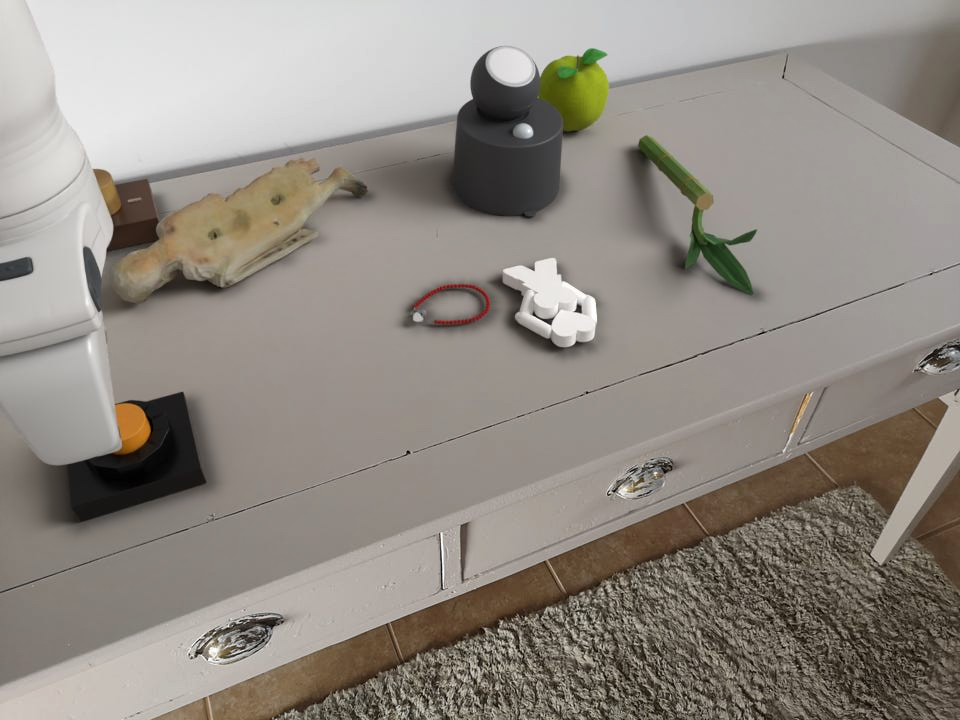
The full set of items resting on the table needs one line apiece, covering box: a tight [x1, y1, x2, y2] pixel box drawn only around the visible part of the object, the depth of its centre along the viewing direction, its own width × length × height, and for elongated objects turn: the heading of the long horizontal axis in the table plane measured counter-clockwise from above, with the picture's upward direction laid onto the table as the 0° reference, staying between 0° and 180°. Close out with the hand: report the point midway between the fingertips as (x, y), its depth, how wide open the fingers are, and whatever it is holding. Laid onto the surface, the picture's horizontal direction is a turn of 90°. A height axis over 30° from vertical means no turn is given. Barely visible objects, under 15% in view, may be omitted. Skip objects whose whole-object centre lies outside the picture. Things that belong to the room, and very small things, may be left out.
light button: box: [110, 403, 151, 455], centre depth 63 cm, size 4×4×2 cm
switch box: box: [66, 391, 207, 523], centre depth 65 cm, size 10×9×4 cm
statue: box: [109, 157, 369, 305], centre depth 84 cm, size 10×7×30 cm
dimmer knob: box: [92, 168, 121, 216], centre depth 84 cm, size 4×4×4 cm
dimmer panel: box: [106, 178, 161, 252], centre depth 87 cm, size 11×9×3 cm
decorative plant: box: [637, 134, 758, 295], centre depth 92 cm, size 6×8×30 cm
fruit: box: [538, 47, 610, 133], centre depth 103 cm, size 9×9×10 cm
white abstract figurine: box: [502, 257, 598, 348], centre depth 81 cm, size 9×12×2 cm
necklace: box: [412, 283, 491, 325], centre depth 81 cm, size 9×6×1 cm
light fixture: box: [451, 45, 564, 218], centre depth 91 cm, size 13×16×14 cm
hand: (100, 390), depth 51 cm, fingers open, 8 cm apart
